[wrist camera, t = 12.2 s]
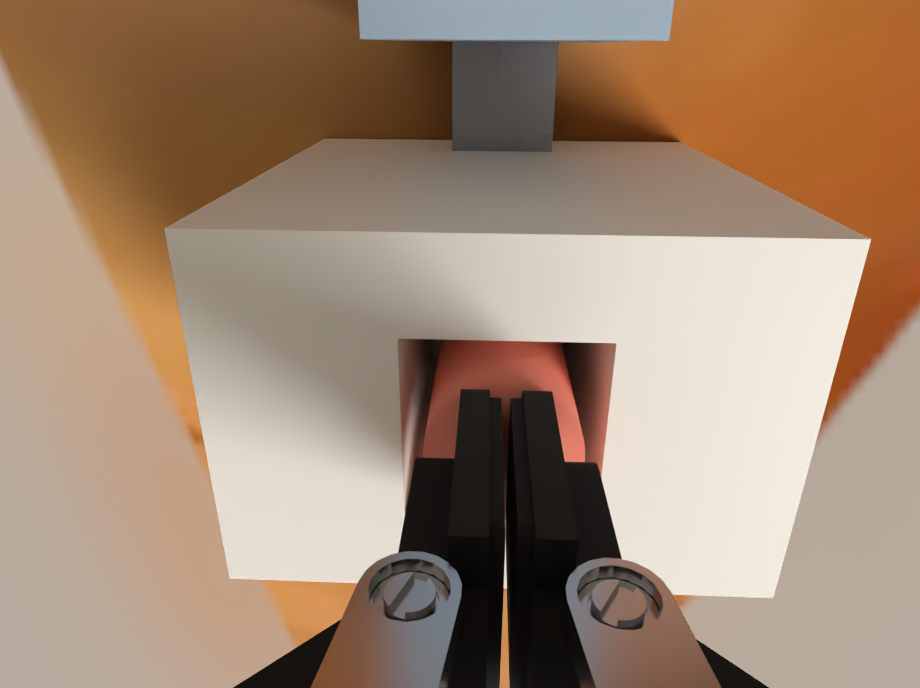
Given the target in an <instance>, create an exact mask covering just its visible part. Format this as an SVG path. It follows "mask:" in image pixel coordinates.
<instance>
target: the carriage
mask: <svg viewBox="0 0 920 688" xmlns="http://www.w3.org/2000/svg"><path fill="white" fill-rule="evenodd" d="M673 5H674V0H358V12H359V30H360V39H369V40H390V41H412V42H442V41H474V42H629V41H667V40H669V37H670V29H671V21H672V13H673Z"/></svg>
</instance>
